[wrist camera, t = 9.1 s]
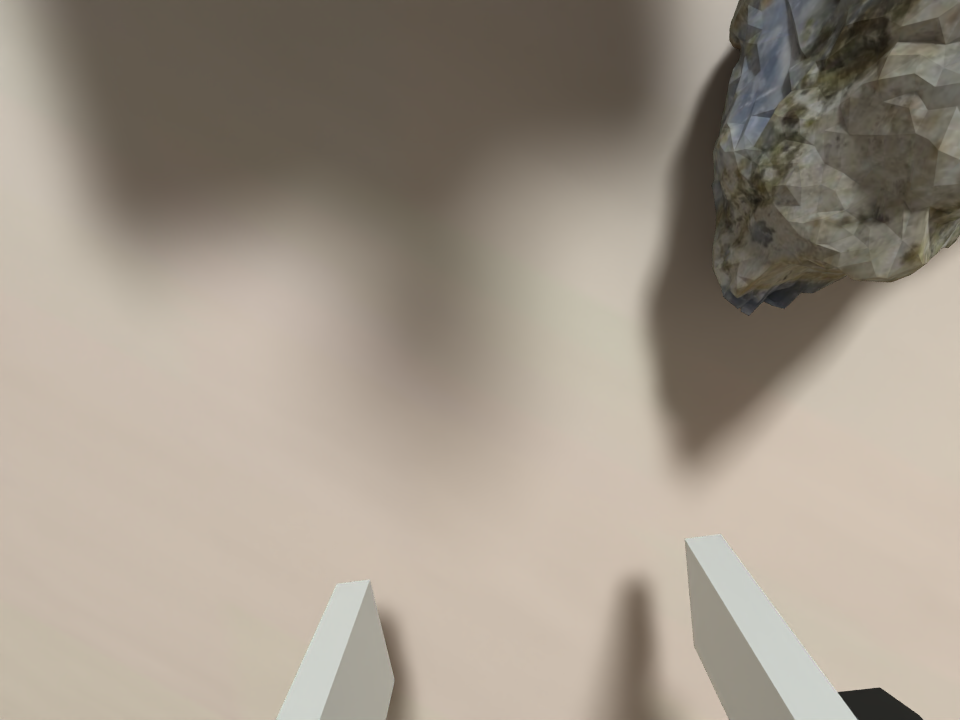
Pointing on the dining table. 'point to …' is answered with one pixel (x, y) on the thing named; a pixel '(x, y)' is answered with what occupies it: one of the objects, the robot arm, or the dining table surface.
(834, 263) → the rock
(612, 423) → the dining table surface
